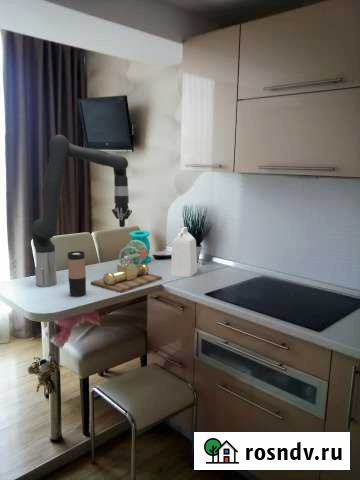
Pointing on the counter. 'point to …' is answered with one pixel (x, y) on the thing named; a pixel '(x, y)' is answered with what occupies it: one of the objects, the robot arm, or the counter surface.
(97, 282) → the mounting board
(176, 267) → the milk
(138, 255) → the valve lever
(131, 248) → the valve
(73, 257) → the travel mug
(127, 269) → the brass valve
